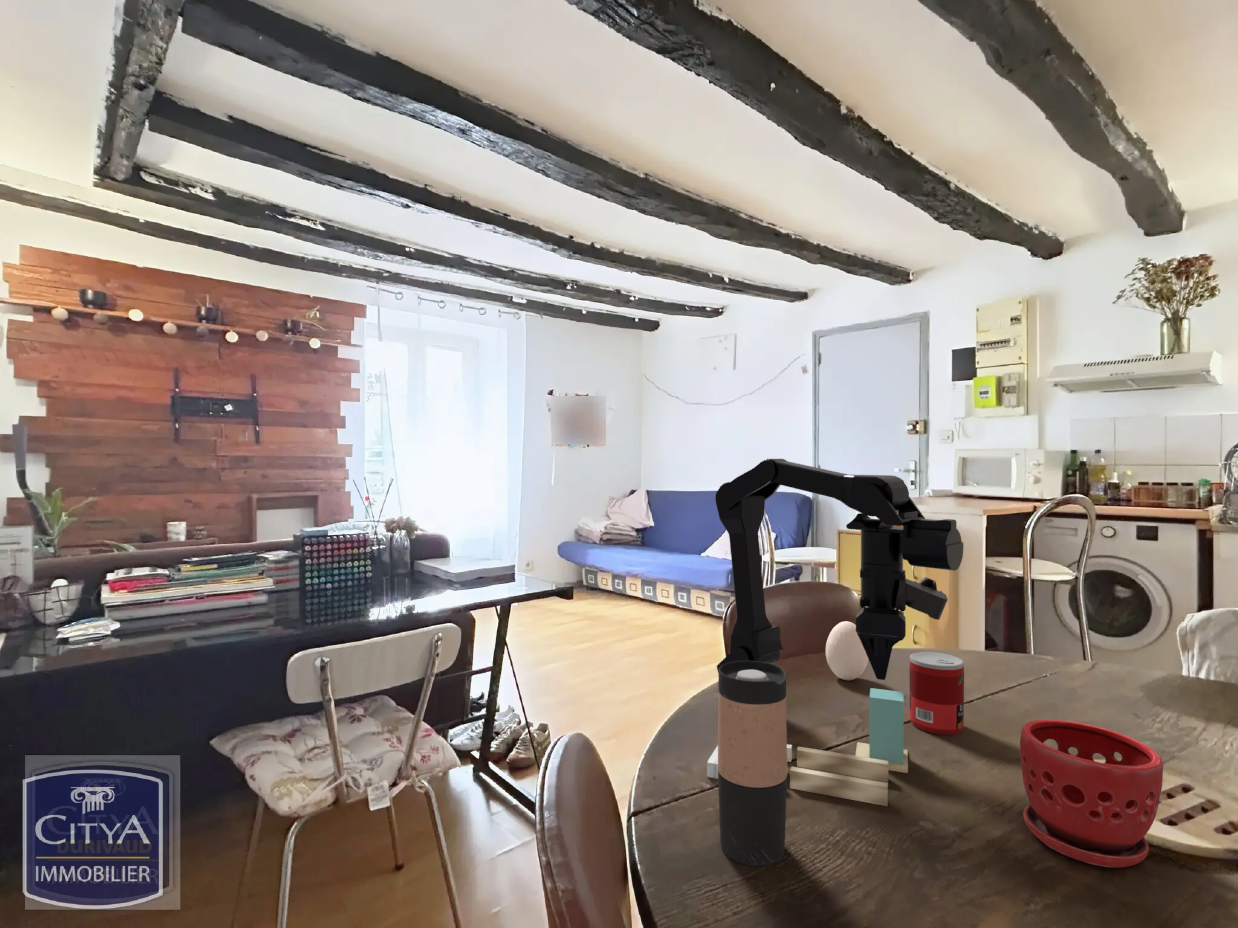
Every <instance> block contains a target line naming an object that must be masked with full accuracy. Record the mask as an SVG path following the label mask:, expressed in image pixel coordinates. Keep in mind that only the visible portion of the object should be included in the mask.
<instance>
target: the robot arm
mask: <svg viewBox="0 0 1238 928" xmlns="http://www.w3.org/2000/svg"><path fill="white" fill-rule="evenodd" d="M904 481H905V480H903V478H901V477H898V476H896V475H893V474H892V475H887V474H848V473H844V472H838V471H834V470H829V469H825V468H820V467H816V466H811V465H807V464H802V463H797V462H792V461H789V460H787V459H784V458H766V459H763V460H762V461H760V462H759V463H757V465H756V466H755V467H753V468H751V469H749V470H747V471H746V472H743V473H742V474H741V475H739V476H737V477H735V478H733V480H731V481H728V482H724V483H723V484H722V485H720V486H719V487H718V489H717V490H716V491H715V496H714V497H715V499H714V500H715V504H716V510H717V514H718V518H719V520H720V522H721V524H722V525H723V527H724V528H725V531H726V532H727V534H728V536H729V537H728V538H729V547H730V559H731V567H732V569H731V570H732V578H733V579H732V580H733V589H734V590H733V591H734V599H735V602H734V603H735V612H736V619H735V622H734V625H733V628H732V632H731V634H730V636H729V637H730V639H729V654H728V655H726V656H725V657H724V658H723V659H722V660H721V661H720V662H718V663H717V665H716V669H717V673H718V675H719V668H720V667H721V666H722V665H724V664H726V663H729V662H734V661H760V662H766V663H770V664H773V665H776V663H777V662H778V661H779V660H780V656H781V652H782V651H784V648H783V646H782V642H781V641H782V640H781V628H780V626H779V625H776V626H773V625H772V623H771V622H770V620H769V619H768V617H767V615H766V614H767V613H766V612H767V611H766V605H765V604H766V601H765V593H764V591H765V590H764V582H763V580H764V579H763V571H762V560H761V550H760V549H761V548H760V542H759V541H760V540H759V531H760V528H761V524H762V522H763V519H764V516H765V504H766V501H767V500H768V499H770V498H771V497H773V495H774V494H776V492H777V491H778V490H779V488H780V486H784V487H788V488H791V489H796V490H800V491H802V492H803V491H804V492H809V493H811V494H816V495H821V496H823V497H828V498H832V499H835V500H837V501H839V502H841V503H842V504H843V505H845V506H846V507H848V508H850V509H851V510H855V511H856V512H858V513H857V514H856V516H855V517H854V518H853V519H852V520H851V521H849V522H848V523H846V529H847V530H855V531H856V530H858V531H860V570H859V578H860V598H859V606H860V610H858V611H857V613H856V615H855V616H856V617H855V625H856V632H857V635H858V637H859V638H860V641H861V643H862V645H863V647H864V650H865V652H866V654H867V657H868V662H869V663H870V666H871V669H872V671H873V673H874V676H875V677H876V679H877V680H881V681H885V680H886V678H887V674H888V668H889V665H890V664H889V663H890V659H891V654H892V652H893V647H894V646H895V645H896V644H898V643H899V642H900V641H903V640H904V639H905V637H906V629H907V628H906V625H907V623H906V616H905V615H904V614H905V613H904V612H905V611H906V607H908V608H910V609H913V610H916V611H918V612H920V613H923V614H925V615H928V617H929V618H932V619H934V620H937V621H939V620H940V619H941V617H942V615H943V612H944V610H945V607H946V606H947V605H946V604H947V603H948V600H949V599H948V597H947V594H946V593H944V592H943V591H941V590H938V588H937V582H936V580H934V579H932V578H929V577H926V576H925V577H923V578H922V580H920V581H919V582H918V581H916V580H910V579H908V578H906V569H904V561H907V562H908V564H909V565H910V566H912V567H920V568H921V567H922V568H928V569H929V568H930V569H938V570H945V571H954V572H955V571H957V570H958V569H959V568H960V566H961V564H962V561H963V558H964V557H963V555H964V542H962V536H961V533H960V531H959V530H958V528H957V520H956V519H955V518H954V519H951V518H945V519H944V518H943V519H930V518H929V519H927V518H926V517H925V516H924V515H923V513H922V512H921V510H920V509H919V508H918V507H917V504H915V502H914V501H913V500H912V498H911V496H910V492H909V489H908V486H907V484H906V482H904ZM871 517H876V518H871ZM901 526H902V527H901Z"/></svg>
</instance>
